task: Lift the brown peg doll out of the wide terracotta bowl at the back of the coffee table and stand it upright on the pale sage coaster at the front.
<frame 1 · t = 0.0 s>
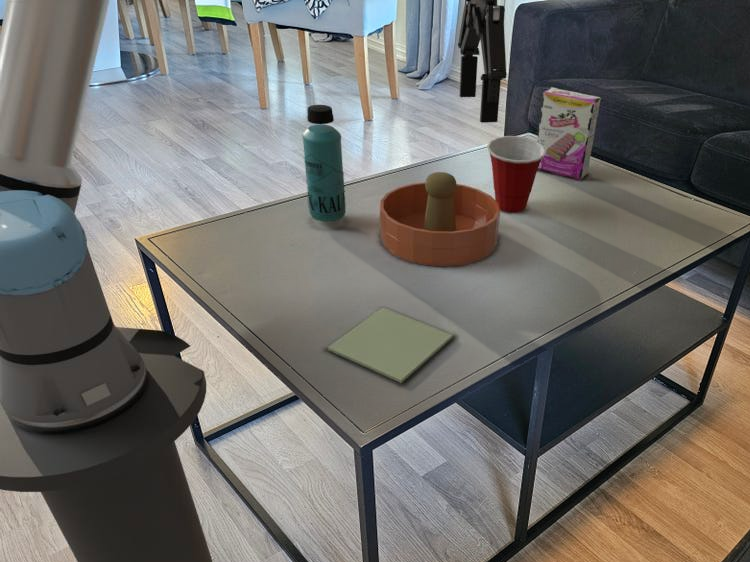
hand: (477, 108, 108), 20 cm above the table, tool pointing down, fingers open, 13 cm apart
bowl: (439, 237, 113), on the table
plastic cup: (510, 208, 125), on the table
beverage bottle: (328, 222, 115), on the table
coaster: (391, 343, 88), on the table
brown peg doll: (439, 236, 113), resting on bowl
candy bar box: (560, 173, 141), on the table
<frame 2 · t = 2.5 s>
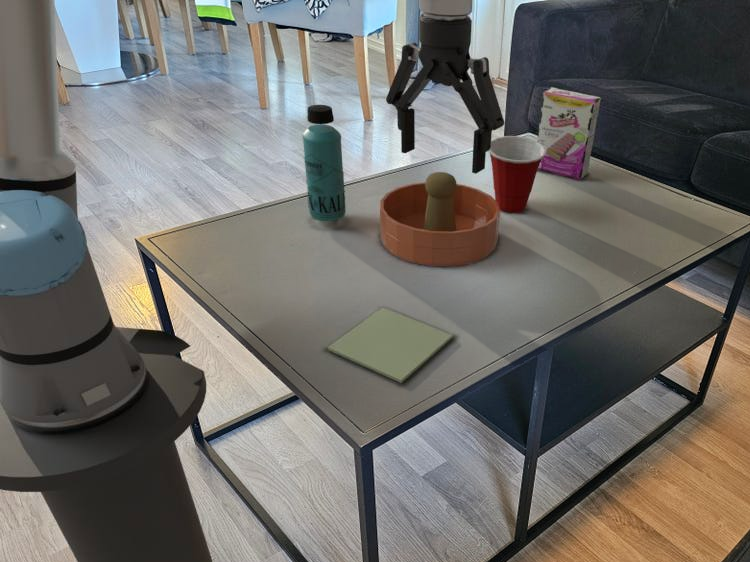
hand: (442, 160, 105), 14 cm above the table, tool pointing down, fingers open, 13 cm apart
nothing on the table moved.
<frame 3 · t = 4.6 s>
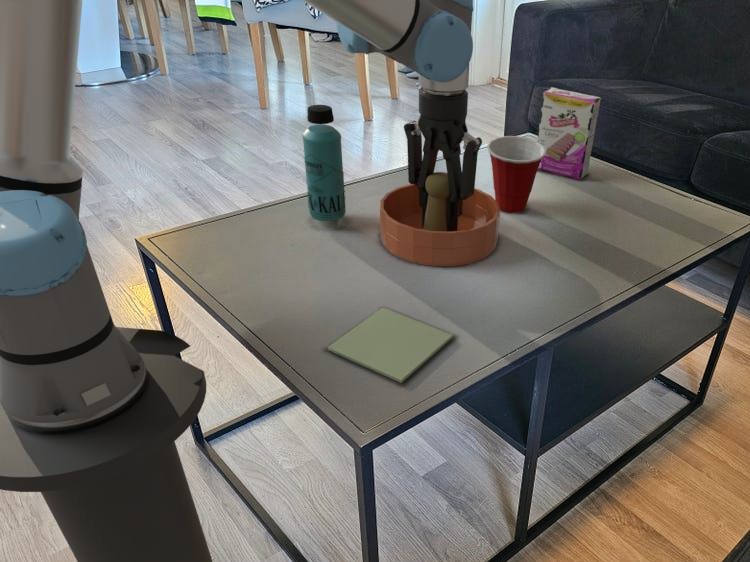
hand: (439, 229, 112), 2 cm above the table, tool pointing down, fingers closed on brown peg doll, 4 cm apart
brown peg doll: (439, 236, 113), resting on bowl, touching gripper
everything else where it was.
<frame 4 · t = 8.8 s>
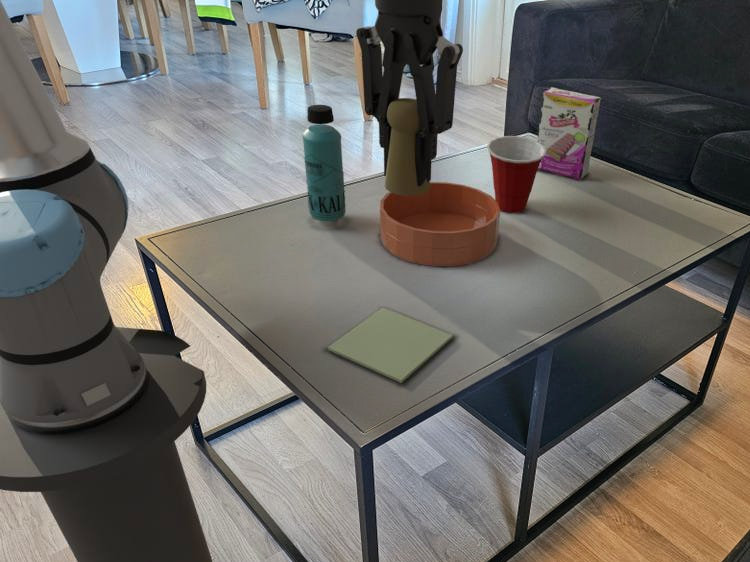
hand: (407, 177, 85), 19 cm above the table, tool pointing down, fingers closed on brown peg doll, 4 cm apart
brown peg doll: (407, 187, 86), point 18 cm above the table, touching gripper
everything else where it was.
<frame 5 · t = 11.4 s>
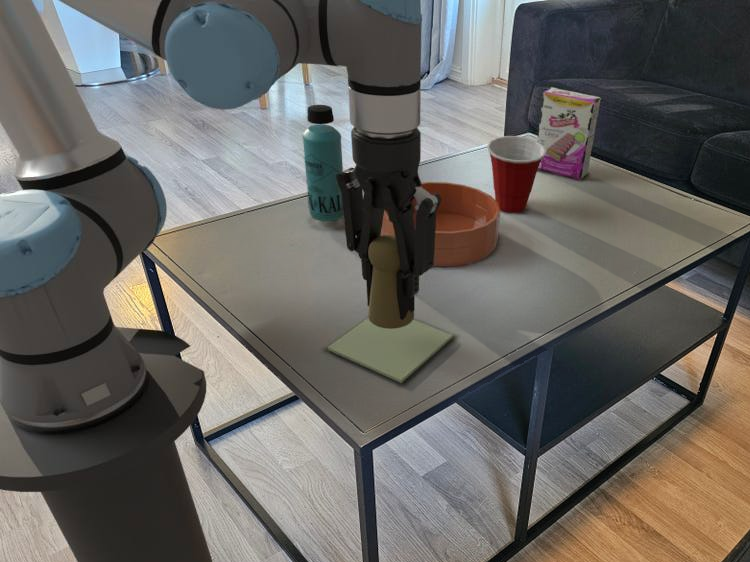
hand: (391, 307, 84), 6 cm above the table, tool pointing down, fingers closed on brown peg doll, 4 cm apart
brown peg doll: (391, 316, 85), point 4 cm above the table, touching gripper
everything else where it was.
when the fingers open (2 cm above the table, at t = 12.9 s): brown peg doll stays where it is, resting on coaster.
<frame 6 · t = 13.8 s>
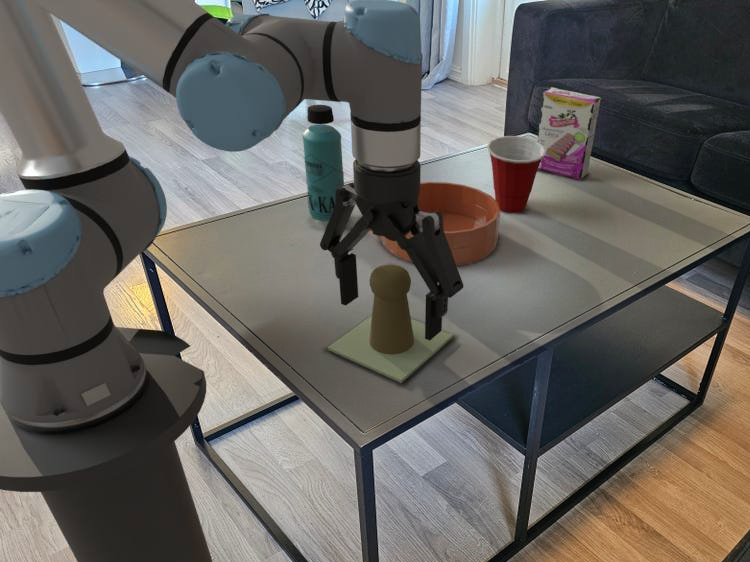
hand: (390, 317, 85), 4 cm above the table, tool pointing down, fingers open, 13 cm apart
brown peg doll: (391, 342, 88), resting on coaster
everything else where it was.
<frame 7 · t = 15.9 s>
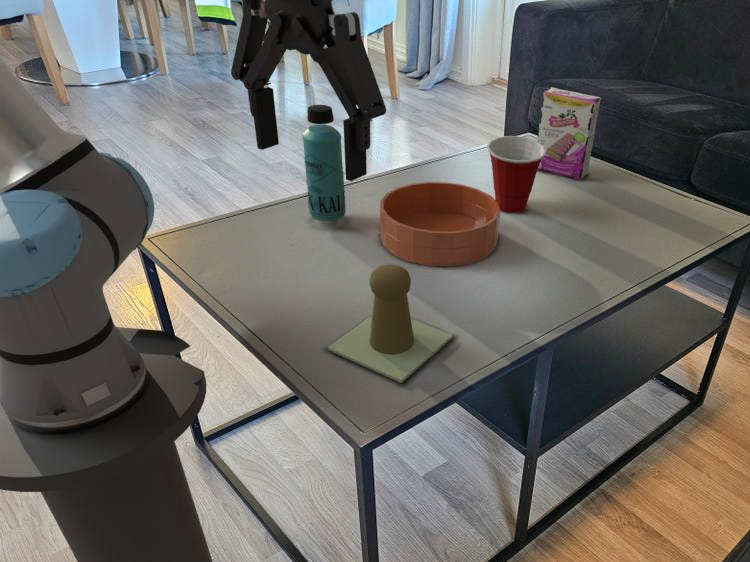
hand: (310, 161, 75), 24 cm above the table, tool pointing down, fingers open, 13 cm apart
nothing on the table moved.
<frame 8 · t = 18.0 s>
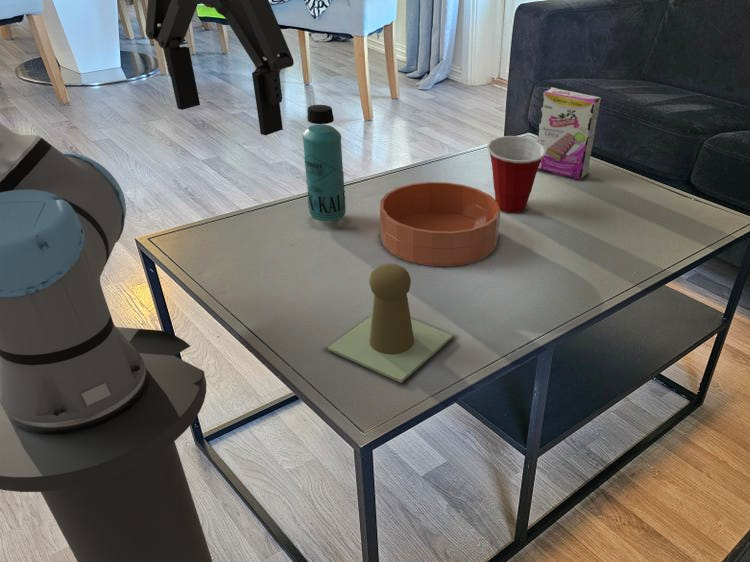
hand: (229, 119, 76), 27 cm above the table, tool pointing down, fingers open, 13 cm apart
nothing on the table moved.
at the end: brown peg doll inside the target area on the coaster (0.0 cm from its centre), point 0.3 cm above the coaster's base; brown peg doll tilted 0°; brown peg doll touching coaster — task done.
